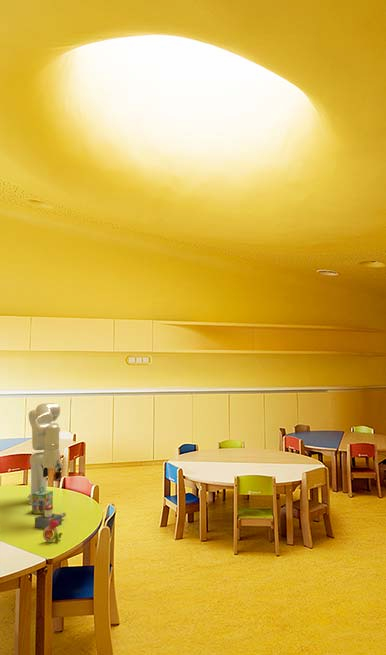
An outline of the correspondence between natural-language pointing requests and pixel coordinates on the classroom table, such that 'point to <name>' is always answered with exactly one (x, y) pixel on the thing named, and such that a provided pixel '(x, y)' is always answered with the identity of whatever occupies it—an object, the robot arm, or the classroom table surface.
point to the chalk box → (41, 501)
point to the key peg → (48, 511)
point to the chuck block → (43, 522)
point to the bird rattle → (48, 532)
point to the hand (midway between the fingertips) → (51, 477)
